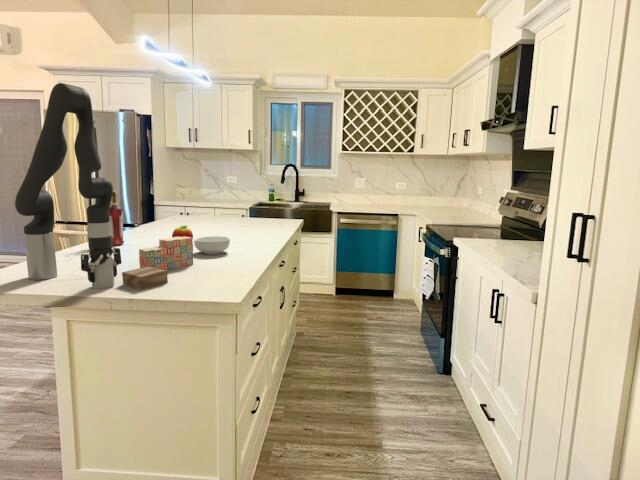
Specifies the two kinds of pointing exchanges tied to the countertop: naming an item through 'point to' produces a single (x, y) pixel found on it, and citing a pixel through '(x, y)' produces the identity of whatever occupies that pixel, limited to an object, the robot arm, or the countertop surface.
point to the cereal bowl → (212, 244)
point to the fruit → (182, 232)
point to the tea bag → (104, 275)
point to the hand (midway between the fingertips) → (103, 279)
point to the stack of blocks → (168, 254)
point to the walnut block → (144, 277)
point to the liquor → (116, 221)
